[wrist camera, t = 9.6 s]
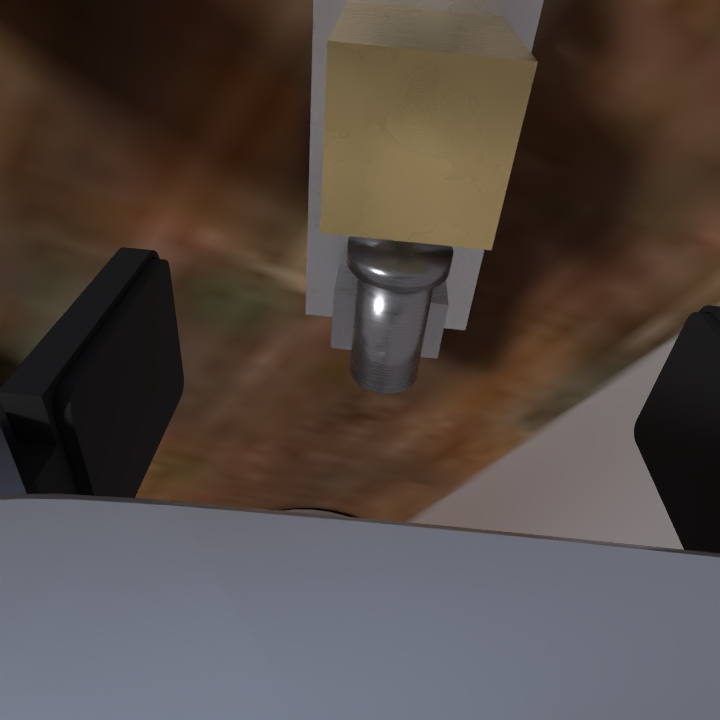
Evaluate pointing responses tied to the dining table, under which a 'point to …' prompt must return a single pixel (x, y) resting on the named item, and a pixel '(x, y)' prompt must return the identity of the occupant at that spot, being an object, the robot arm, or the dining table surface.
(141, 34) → the dining table surface
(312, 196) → the shaft bench
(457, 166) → the tan wooden cube
